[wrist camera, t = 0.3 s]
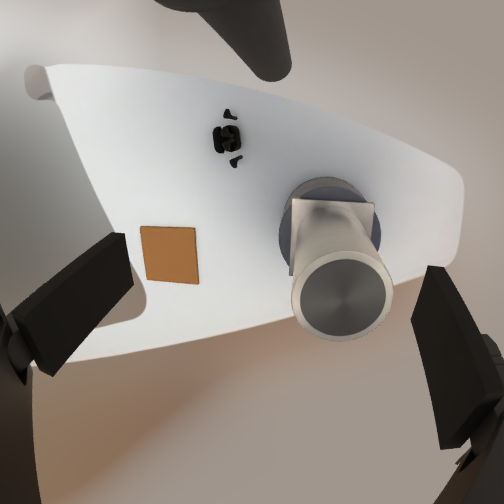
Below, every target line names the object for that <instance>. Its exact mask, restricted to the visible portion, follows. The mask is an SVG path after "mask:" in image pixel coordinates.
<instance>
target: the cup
mask: <svg viewBox="0 0 504 504" xmlns="http://www.w3.org/2000/svg"><path fill="white" fill-rule="evenodd" d="M393 296H394V290H393V283H392V279H391V277H390V275H389V272H388V271H387V269H386V267H385V265H384V263H383V261H382V259H381V258H380V256H379V254H378V252H377V250H376V249H375V247H374V245H373V243H372V241H371V240H370V238H369V236H368V234H367V233H366V231H365V229H364V228H363V226H362V224H361V222H360V221H359V220H358V219H357V217H356V216H355V215H353V214H352V213H351V212H349V211H347V210H345V209H342V208H338V207H326V208H321V209H319V210H316V211H314V212H313V213H311V214H310V215H308V216H307V217H306V218H305V219H304V221H303V222H302V224H301V225H300V227H299V230H298V233H297V239H296V251H295V262H294V273H293V283H292V294H291V304H292V310H293V313H294V315H295V317H296V319H297V321H298V322H299V324H300V325H301V326H302V327H303V328H304V329H305V330H306V331H308V332H309V333H311V334H312V335H314V336H316V337H318V338H321V339H324V340H328V341H337V342H341V341H342V342H343V341H350V340H354V339H357V338H360V337H363V336H365V335H367V334H368V333H370V332H372V331H373V330H374V329H376V328H377V327H378V326H379V325H380V324H381V323H382V322H383V320H384V319H385V318H386V316H387V314H388V313H389V311H390V308H391V306H392V302H393Z"/></svg>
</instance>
